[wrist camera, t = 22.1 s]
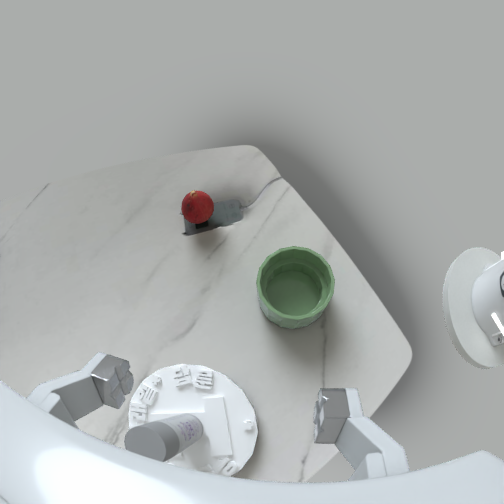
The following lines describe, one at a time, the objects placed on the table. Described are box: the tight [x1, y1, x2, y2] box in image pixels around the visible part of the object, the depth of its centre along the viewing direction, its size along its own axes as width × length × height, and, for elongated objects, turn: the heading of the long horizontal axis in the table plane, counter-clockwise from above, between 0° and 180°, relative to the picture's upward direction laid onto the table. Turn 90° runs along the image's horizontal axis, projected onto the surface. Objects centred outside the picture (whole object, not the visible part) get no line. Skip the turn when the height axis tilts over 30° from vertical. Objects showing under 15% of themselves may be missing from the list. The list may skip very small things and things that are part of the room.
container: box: [124, 414, 203, 462], centre depth 26 cm, size 5×5×15 cm
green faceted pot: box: [256, 246, 335, 329], centre depth 41 cm, size 11×11×6 cm
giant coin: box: [128, 364, 258, 477], centre depth 34 cm, size 20×20×3 cm
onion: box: [181, 190, 214, 224], centre depth 49 cm, size 6×6×8 cm
